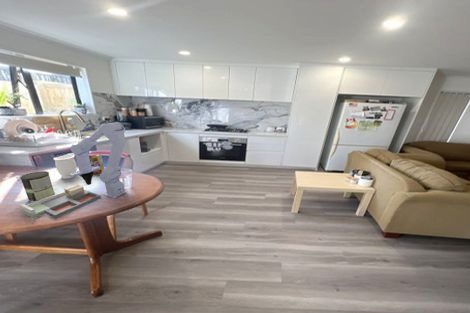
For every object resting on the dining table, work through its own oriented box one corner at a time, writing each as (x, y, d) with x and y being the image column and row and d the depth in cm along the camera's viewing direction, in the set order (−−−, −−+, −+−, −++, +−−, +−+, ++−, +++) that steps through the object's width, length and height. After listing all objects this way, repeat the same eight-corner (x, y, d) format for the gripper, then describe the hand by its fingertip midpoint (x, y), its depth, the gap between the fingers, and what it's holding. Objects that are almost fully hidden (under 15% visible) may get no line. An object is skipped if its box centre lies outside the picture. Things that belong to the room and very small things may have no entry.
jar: (71, 173, 128) (66, 154, 124) (82, 174, 127) (78, 155, 123) (55, 178, 118) (48, 158, 114) (67, 180, 117) (62, 160, 113)
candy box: (88, 174, 127) (84, 155, 123) (92, 172, 131) (88, 153, 127) (101, 174, 128) (97, 155, 124) (105, 172, 132) (101, 153, 128)
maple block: (84, 192, 99) (83, 186, 98) (72, 197, 94) (70, 191, 93) (78, 190, 101) (76, 184, 100) (65, 195, 96) (64, 188, 95)
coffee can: (23, 203, 90) (14, 179, 86) (35, 194, 99) (28, 172, 95) (49, 200, 94) (41, 177, 90) (59, 191, 103) (52, 170, 99)
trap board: (101, 198, 98) (99, 191, 97) (44, 223, 76) (41, 215, 75) (80, 191, 104) (78, 184, 103) (23, 212, 83) (19, 204, 82)
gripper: (93, 159, 107) (97, 178, 111) (64, 166, 94) (70, 187, 98) (100, 160, 105) (104, 180, 109) (72, 168, 92) (77, 190, 96)
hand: (88, 184), depth 103 cm, fingers closed
